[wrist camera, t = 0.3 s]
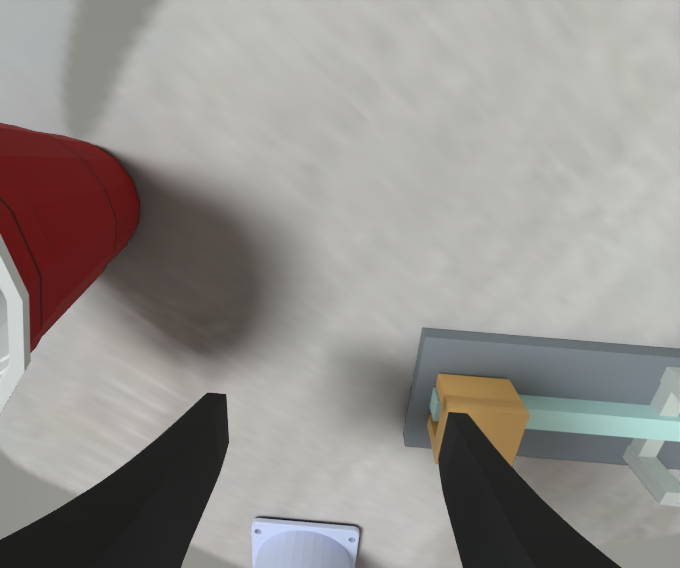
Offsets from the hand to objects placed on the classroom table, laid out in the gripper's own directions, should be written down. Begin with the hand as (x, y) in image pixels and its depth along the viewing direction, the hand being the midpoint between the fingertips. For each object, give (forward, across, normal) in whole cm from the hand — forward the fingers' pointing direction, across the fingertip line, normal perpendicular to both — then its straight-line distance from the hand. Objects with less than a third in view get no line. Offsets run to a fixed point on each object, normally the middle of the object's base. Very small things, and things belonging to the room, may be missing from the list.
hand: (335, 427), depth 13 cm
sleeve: (+8, -8, +6) cm, 13 cm away
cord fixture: (+10, -15, +6) cm, 18 cm away
